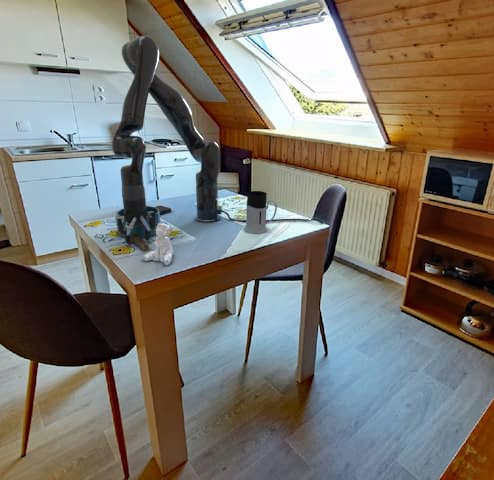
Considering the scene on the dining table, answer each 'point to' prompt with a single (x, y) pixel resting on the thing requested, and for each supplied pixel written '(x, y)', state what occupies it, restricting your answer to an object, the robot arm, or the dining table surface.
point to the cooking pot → (139, 229)
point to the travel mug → (257, 212)
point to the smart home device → (163, 209)
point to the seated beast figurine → (161, 245)
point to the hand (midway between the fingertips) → (138, 242)
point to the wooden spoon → (139, 242)
